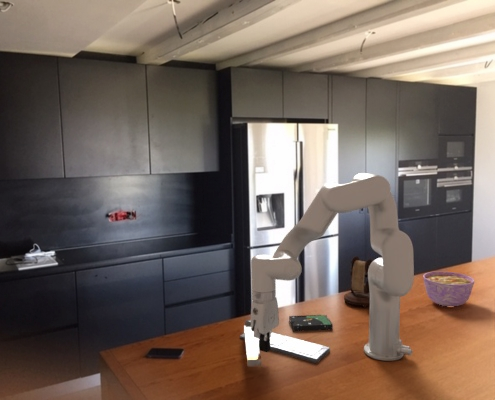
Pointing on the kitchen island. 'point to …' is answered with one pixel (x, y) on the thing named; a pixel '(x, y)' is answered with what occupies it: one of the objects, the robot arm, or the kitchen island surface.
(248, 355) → the swing bar
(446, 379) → the kitchen island surface
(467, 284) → the bowl of food
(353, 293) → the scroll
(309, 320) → the disk drive
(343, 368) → the kitchen island surface
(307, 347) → the label panel
